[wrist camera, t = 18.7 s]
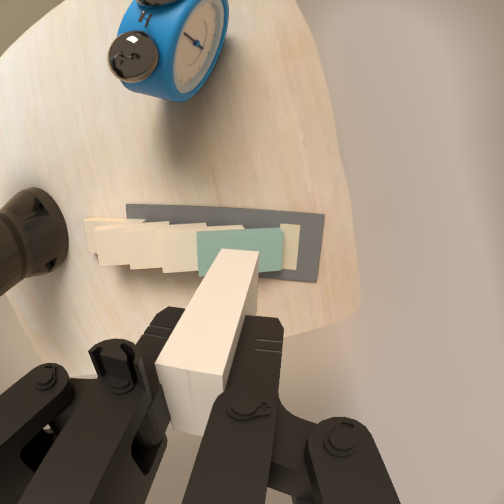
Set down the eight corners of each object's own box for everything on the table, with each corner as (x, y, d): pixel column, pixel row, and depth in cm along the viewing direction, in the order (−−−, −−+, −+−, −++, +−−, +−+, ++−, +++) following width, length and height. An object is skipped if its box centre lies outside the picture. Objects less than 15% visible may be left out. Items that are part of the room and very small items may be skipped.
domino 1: (149, 253, 40) (94, 248, 41) (145, 219, 38) (89, 217, 39) (144, 258, 39) (88, 252, 40) (140, 223, 37) (83, 220, 38)
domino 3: (206, 259, 39) (132, 264, 37) (205, 222, 37) (127, 227, 35) (208, 264, 38) (130, 269, 36) (206, 226, 36) (125, 232, 34)
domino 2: (172, 256, 40) (102, 261, 37) (169, 221, 38) (96, 226, 35) (171, 261, 38) (99, 266, 36) (169, 224, 36) (93, 230, 34)
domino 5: (283, 231, 35) (196, 236, 33) (281, 270, 37) (198, 276, 35) (279, 227, 36) (196, 231, 34) (277, 264, 38) (197, 270, 36)
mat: (133, 263, 42) (132, 264, 41) (126, 204, 38) (125, 204, 38) (316, 280, 39) (316, 281, 38) (324, 214, 35) (324, 215, 35)
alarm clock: (200, 107, 32) (140, 96, 18) (156, 95, 32) (81, 84, 18) (239, 14, 27) (204, -47, 13) (193, 6, 27) (139, -47, 13)
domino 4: (241, 261, 39) (163, 267, 37) (242, 224, 37) (159, 229, 35) (244, 267, 37) (163, 272, 35) (244, 228, 35) (159, 233, 33)
